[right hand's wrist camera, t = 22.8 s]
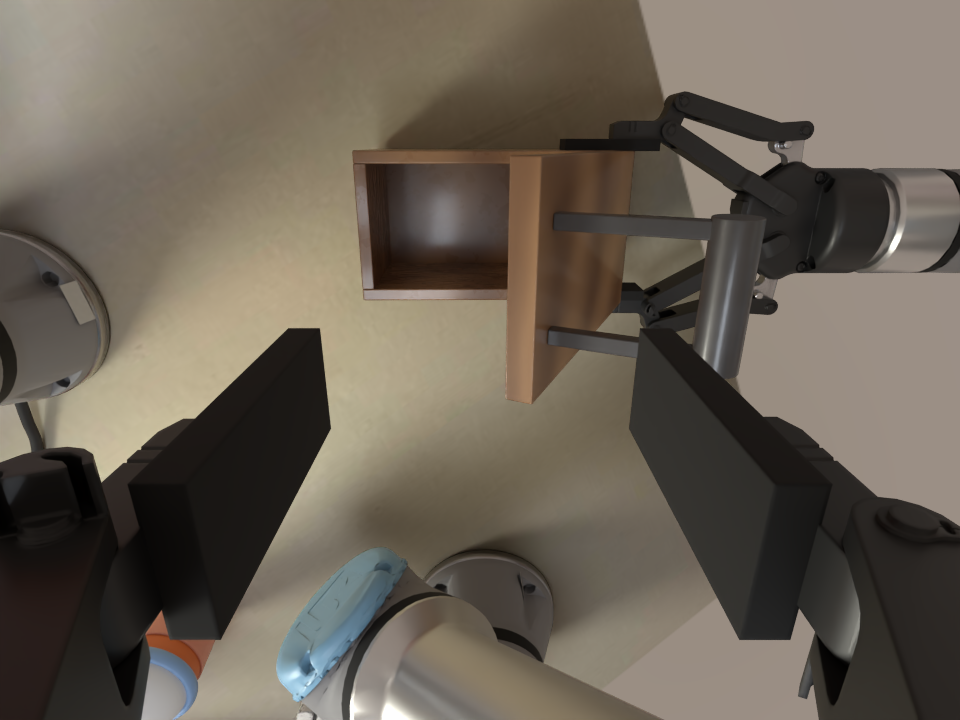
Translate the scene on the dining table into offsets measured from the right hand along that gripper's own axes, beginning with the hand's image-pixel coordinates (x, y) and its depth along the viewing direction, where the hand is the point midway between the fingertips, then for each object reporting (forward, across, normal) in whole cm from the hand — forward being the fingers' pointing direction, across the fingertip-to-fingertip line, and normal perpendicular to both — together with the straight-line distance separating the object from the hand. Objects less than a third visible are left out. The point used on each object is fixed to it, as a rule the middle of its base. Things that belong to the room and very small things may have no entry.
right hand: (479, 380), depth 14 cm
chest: (+36, 0, 0) cm, 36 cm away
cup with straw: (+36, +32, +43) cm, 64 cm away
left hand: (+29, -6, 0) cm, 30 cm away
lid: (+17, -5, 0) cm, 18 cm away
